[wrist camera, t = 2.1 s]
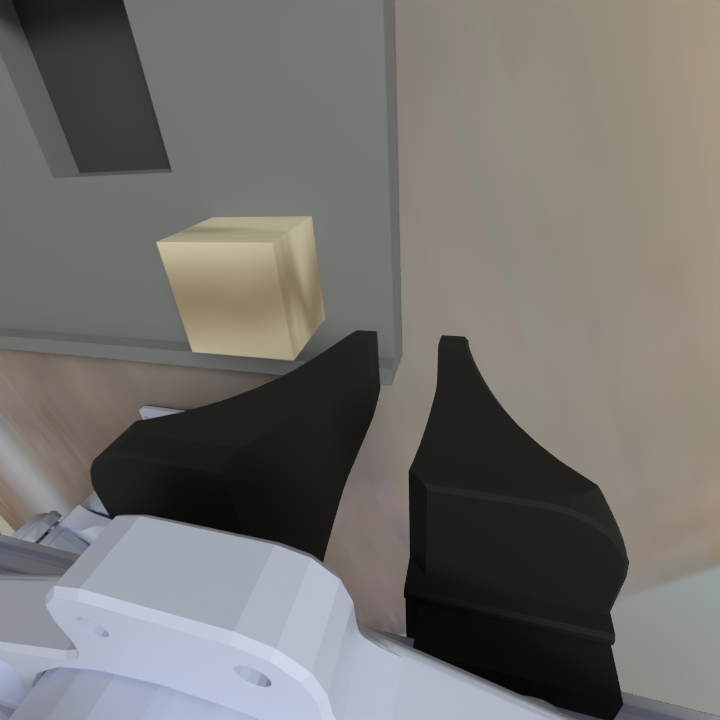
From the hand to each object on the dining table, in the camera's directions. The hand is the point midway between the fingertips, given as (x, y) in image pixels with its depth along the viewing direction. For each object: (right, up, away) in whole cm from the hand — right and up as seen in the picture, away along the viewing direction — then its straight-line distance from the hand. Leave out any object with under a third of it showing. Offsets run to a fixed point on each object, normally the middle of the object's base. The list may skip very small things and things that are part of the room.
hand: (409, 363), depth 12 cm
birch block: (-6, +4, +8) cm, 11 cm away
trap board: (-17, +9, +11) cm, 22 cm away
